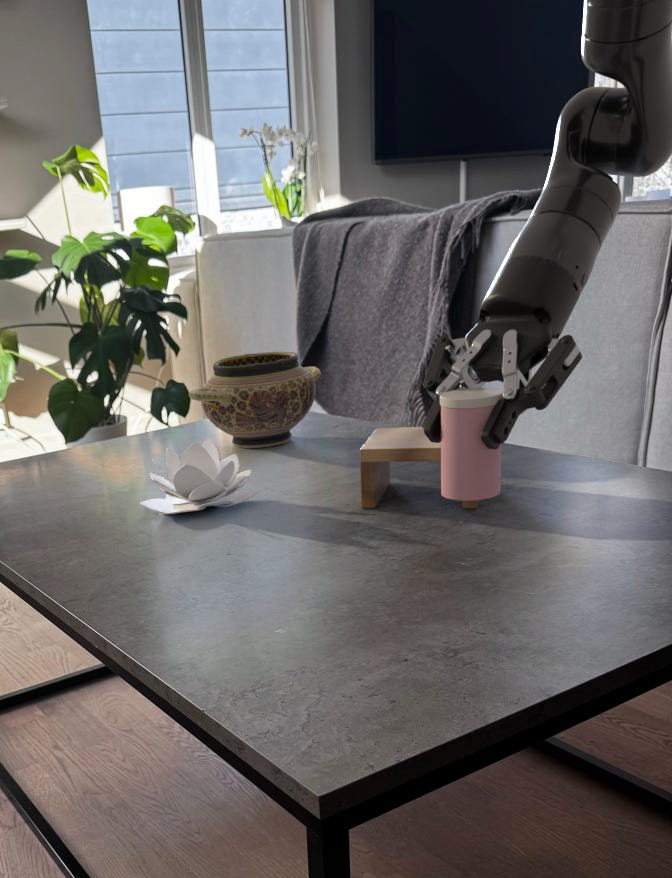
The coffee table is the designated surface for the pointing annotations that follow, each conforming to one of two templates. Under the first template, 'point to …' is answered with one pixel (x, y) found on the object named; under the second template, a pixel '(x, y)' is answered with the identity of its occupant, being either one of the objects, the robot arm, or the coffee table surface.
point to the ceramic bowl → (258, 397)
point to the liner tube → (468, 445)
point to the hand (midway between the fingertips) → (459, 440)
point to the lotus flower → (199, 481)
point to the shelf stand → (394, 459)
